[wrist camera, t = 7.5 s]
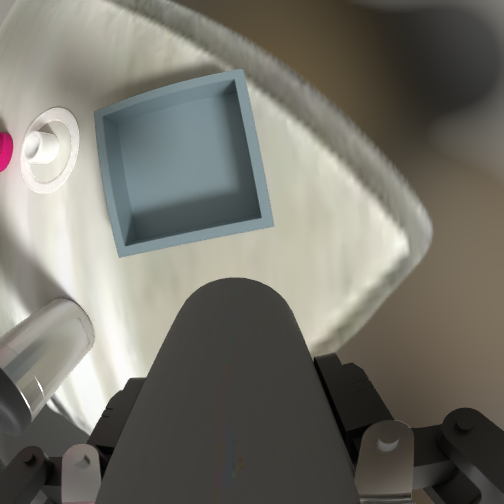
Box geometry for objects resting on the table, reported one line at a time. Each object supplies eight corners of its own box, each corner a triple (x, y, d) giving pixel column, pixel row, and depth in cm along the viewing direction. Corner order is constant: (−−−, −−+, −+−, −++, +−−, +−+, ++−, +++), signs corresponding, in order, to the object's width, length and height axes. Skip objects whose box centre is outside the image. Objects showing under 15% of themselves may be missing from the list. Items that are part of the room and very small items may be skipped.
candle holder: (70, 201, 30) (50, 204, 26) (17, 185, 29) (-2, 186, 25) (93, 111, 28) (76, 104, 23) (36, 107, 27) (18, 101, 22)
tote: (136, 247, 31) (119, 257, 26) (113, 120, 28) (94, 111, 23) (269, 220, 31) (274, 226, 26) (243, 86, 27) (243, 68, 23)
